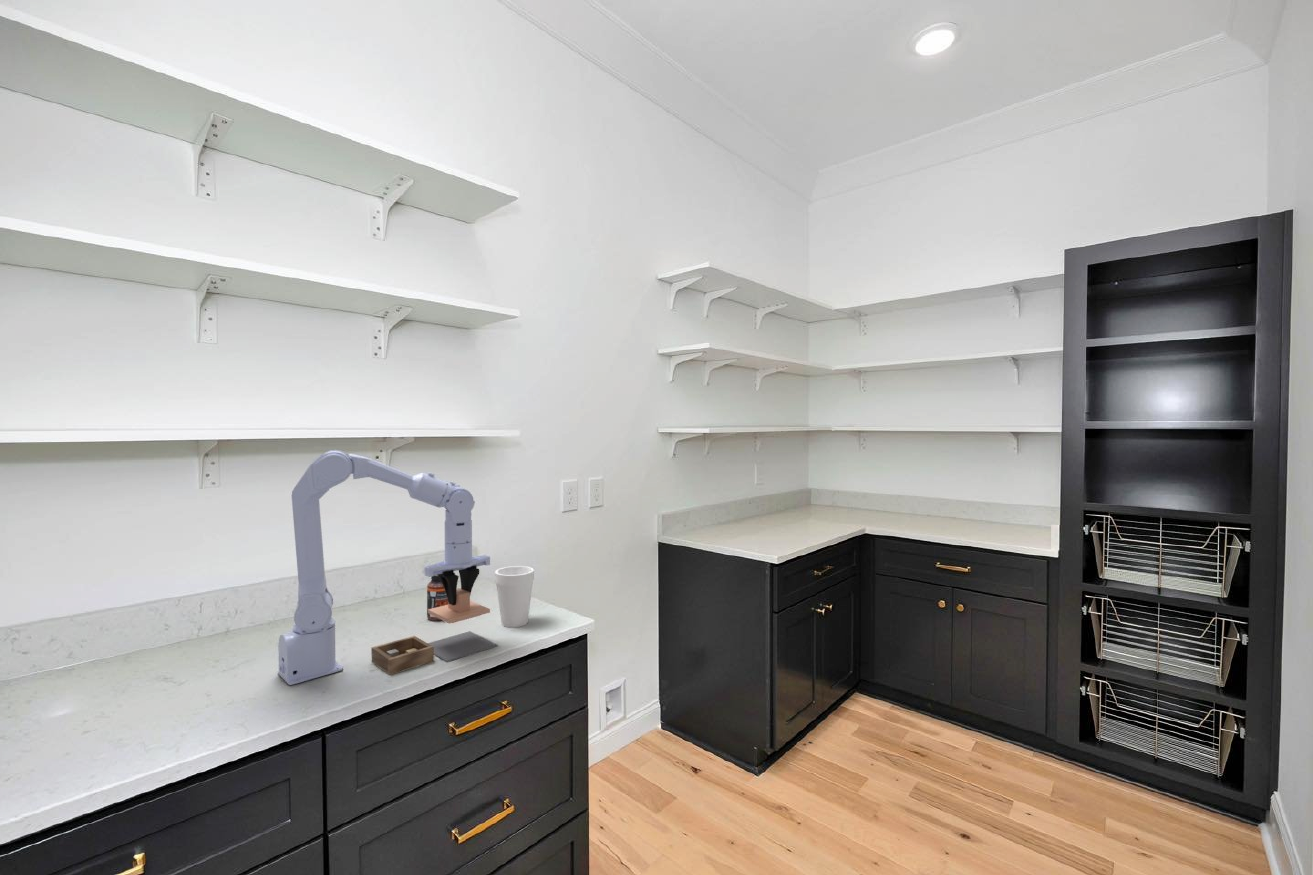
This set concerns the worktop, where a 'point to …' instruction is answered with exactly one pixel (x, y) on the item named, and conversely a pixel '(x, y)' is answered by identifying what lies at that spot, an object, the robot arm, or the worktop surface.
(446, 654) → the mat
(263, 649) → the worktop surface
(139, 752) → the worktop surface
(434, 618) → the supplement bottle
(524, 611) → the foam cup
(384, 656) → the box
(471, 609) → the lid
